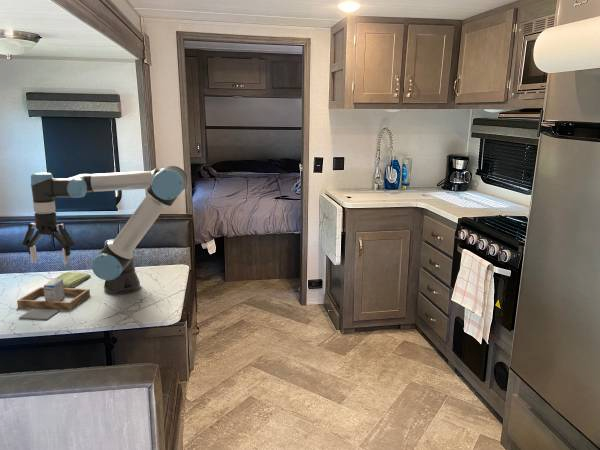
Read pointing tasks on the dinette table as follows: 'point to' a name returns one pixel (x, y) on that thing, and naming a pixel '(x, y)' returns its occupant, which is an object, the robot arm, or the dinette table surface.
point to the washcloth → (72, 279)
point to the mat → (40, 314)
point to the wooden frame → (31, 303)
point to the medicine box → (54, 290)
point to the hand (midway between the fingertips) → (50, 262)
